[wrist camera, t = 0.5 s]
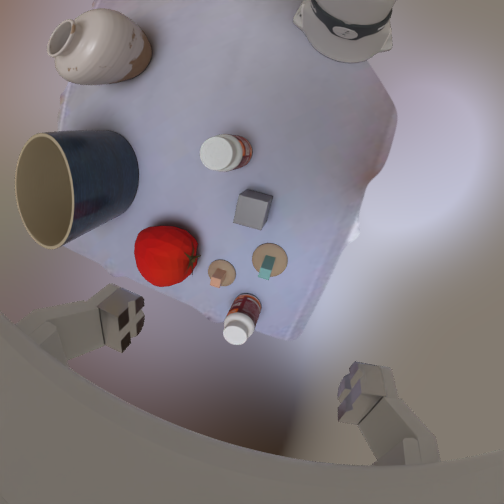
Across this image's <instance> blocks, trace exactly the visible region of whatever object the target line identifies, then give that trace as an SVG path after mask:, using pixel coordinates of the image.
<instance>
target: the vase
mask: <svg viewBox="0 0 504 504" xmlns="http://www.w3.org/2000/svg"><path fill="white" fill-rule="evenodd" d="M47 52H48V55H49V56H50V57H55V68H56V70H57V72H58V73H59V75H60V76H61V77H62V78H64V79H65V80H67V81H69V82H72V83H75V84H80V85H104V84H112V83H117V82H121V81H124V80H128V79H131V78H133V77H136V76H137V75H139V74H140V73H142V72H143V71H144V70H145V68H146V67H147V66H148V64H149V62H150V60H151V56H152V49H151V45H150V43H149V41H148V39H147V37H146V35H145V34H144V32H143V31H142V30H141V29H140V28H139V27H138V25H137V24H135V23H134V22H133V21H132V20H131V19H130V18H128V17H127V16H125V15H124V14H122V13H120V12H118V11H115V10H111V9H93V10H90V11H87V12H85V13H83V14H81V15H80V16H78V17H77V18H76V19H75V20H71V19H68V20H65V21H63V22H62V23H61V24H59V25H58V26H57V28H56V29H55V30H54V32H53V33H52V35H51V37H50V39H49V42H48V46H47Z"/></svg>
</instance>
